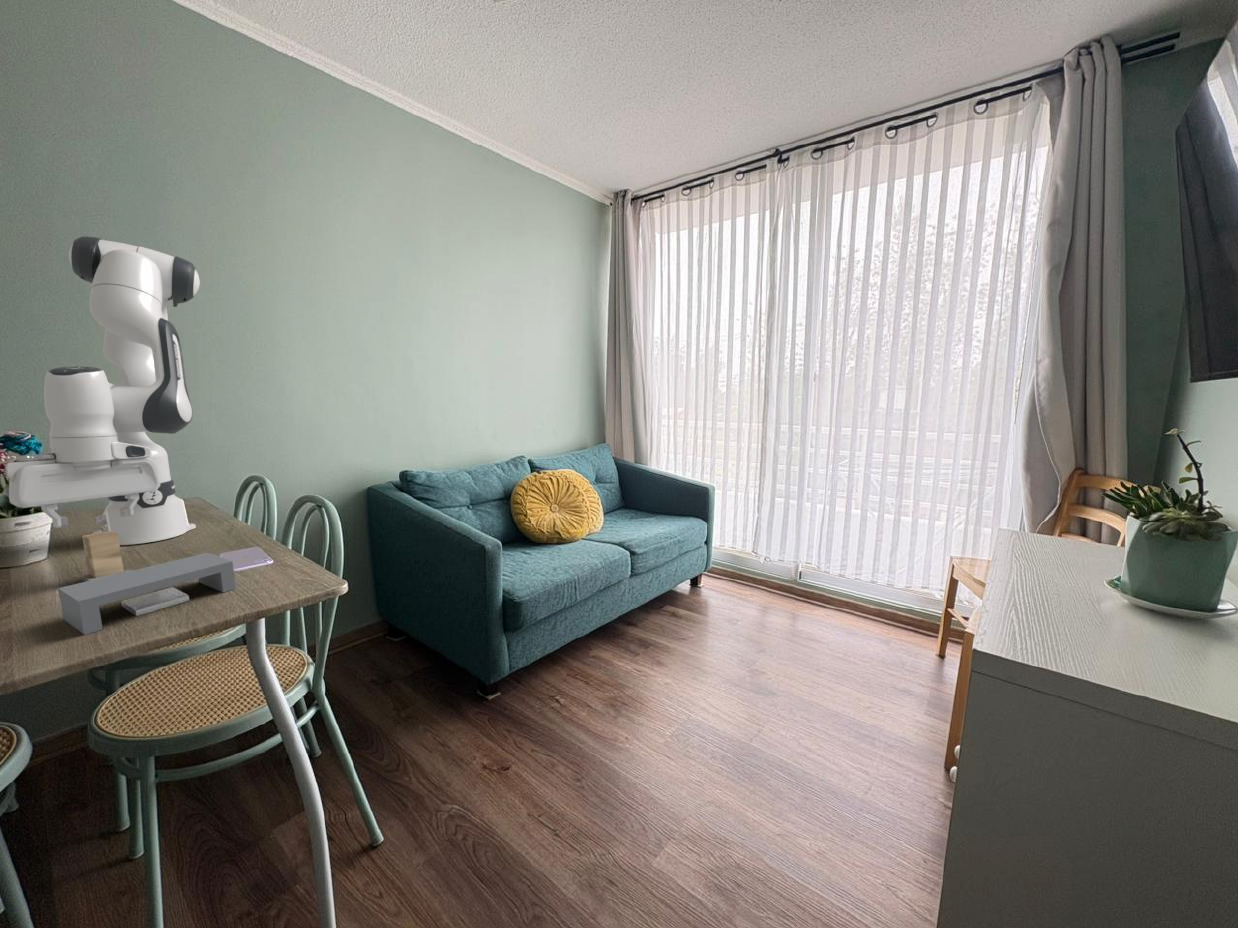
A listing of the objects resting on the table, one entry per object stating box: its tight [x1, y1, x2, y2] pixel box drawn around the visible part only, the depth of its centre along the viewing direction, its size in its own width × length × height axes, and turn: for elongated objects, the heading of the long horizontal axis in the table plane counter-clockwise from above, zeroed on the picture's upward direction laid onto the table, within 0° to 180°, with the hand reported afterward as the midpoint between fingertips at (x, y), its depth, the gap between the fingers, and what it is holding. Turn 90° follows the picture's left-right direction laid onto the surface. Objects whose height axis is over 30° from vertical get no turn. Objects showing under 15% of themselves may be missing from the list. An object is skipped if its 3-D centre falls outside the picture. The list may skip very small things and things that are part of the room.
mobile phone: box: [219, 546, 274, 572], centre depth 108 cm, size 8×1×15 cm
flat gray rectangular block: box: [120, 586, 190, 617], centre depth 85 cm, size 7×7×2 cm
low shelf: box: [57, 552, 237, 636], centre depth 85 cm, size 10×20×6 cm, turn 151°
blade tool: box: [81, 531, 133, 582], centre depth 93 cm, size 16×6×9 cm, turn 61°
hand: (95, 521), depth 95 cm, fingers open, 8 cm apart
